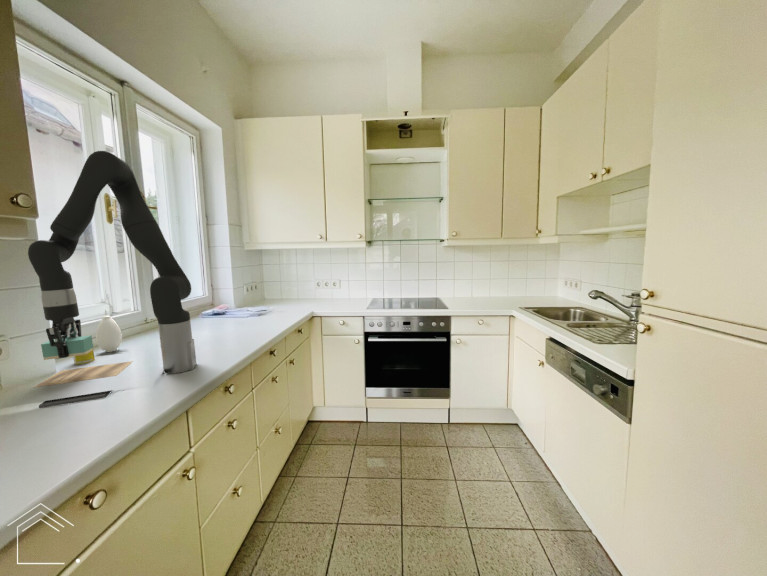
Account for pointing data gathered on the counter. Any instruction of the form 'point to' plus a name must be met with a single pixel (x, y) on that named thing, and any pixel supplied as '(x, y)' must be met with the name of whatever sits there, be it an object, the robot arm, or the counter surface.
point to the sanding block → (69, 347)
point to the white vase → (108, 334)
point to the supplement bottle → (84, 358)
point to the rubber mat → (74, 399)
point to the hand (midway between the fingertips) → (69, 354)
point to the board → (85, 374)
